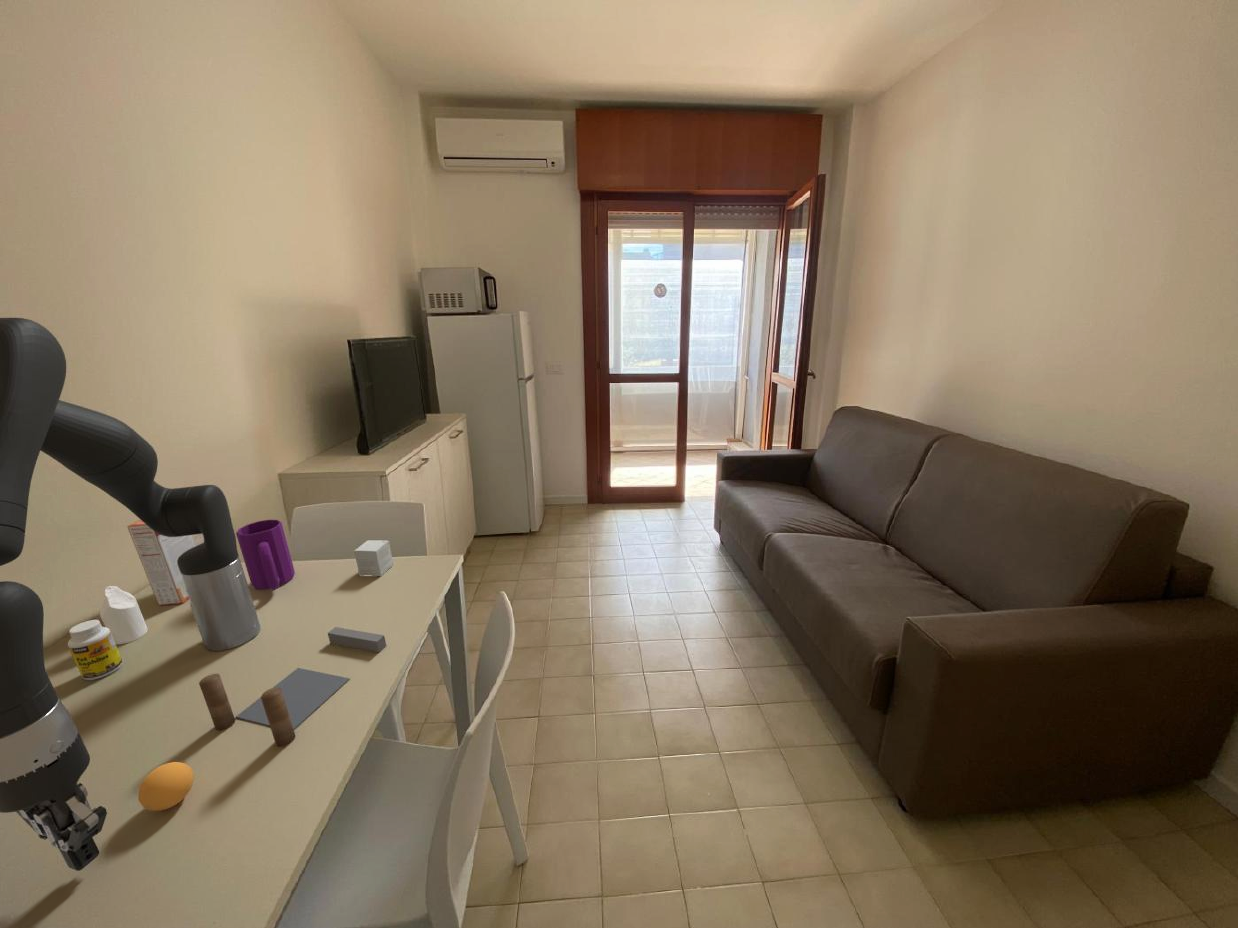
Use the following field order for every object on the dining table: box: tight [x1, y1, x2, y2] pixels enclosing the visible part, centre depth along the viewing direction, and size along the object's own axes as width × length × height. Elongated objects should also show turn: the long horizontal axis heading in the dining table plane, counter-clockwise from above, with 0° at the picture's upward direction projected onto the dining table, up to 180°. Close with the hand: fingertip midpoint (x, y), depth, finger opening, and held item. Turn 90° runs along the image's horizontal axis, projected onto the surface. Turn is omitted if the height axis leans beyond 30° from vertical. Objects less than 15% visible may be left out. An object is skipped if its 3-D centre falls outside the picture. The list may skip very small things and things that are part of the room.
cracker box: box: [126, 519, 204, 606], centre depth 119 cm, size 14×6×21 cm, turn 5°
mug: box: [235, 519, 296, 591], centre depth 120 cm, size 9×16×15 cm, turn 38°
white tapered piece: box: [99, 585, 148, 645], centre depth 103 cm, size 6×12×6 cm
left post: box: [198, 673, 236, 732], centre depth 80 cm, size 3×3×9 cm
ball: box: [137, 761, 195, 812], centre depth 68 cm, size 6×6×6 cm
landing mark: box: [235, 667, 351, 731], centre depth 86 cm, size 12×12×1 cm
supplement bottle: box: [67, 619, 123, 681], centre depth 93 cm, size 6×6×10 cm
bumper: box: [327, 626, 387, 653], centre depth 99 cm, size 12×2×2 cm, turn 74°
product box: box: [353, 539, 394, 577], centre depth 127 cm, size 6×6×7 cm
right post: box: [260, 687, 296, 748], centre depth 76 cm, size 3×3×9 cm
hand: (85, 861), depth 60 cm, fingers closed
